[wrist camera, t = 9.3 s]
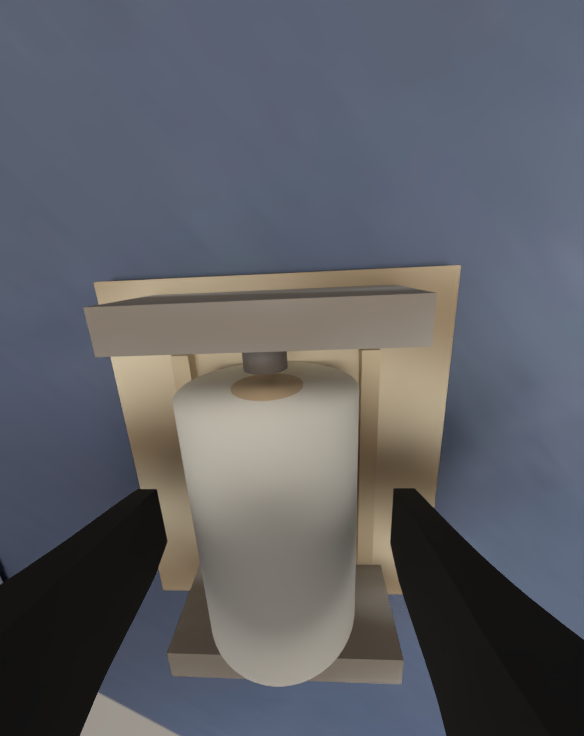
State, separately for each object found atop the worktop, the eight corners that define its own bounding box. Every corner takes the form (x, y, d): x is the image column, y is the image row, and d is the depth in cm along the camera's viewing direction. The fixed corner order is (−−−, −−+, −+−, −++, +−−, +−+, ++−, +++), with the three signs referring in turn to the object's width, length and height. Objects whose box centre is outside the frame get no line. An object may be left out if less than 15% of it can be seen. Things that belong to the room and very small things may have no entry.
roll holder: (417, 573, 15) (460, 695, 11) (172, 570, 16) (121, 683, 12) (447, 265, 11) (538, 264, 7) (111, 281, 12) (-5, 289, 7)
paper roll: (345, 540, 13) (367, 689, 9) (229, 540, 14) (189, 685, 9) (346, 357, 11) (377, 425, 6) (205, 362, 11) (132, 430, 7)
